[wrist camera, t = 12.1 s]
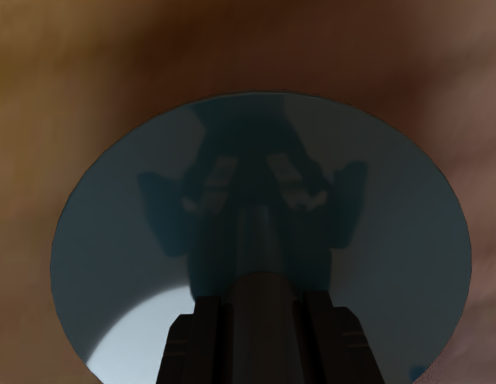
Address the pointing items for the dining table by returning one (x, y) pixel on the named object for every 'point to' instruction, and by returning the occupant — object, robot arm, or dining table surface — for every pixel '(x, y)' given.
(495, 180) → the dining table surface
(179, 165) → the lid
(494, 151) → the dining table surface
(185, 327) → the robot arm
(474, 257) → the dining table surface
